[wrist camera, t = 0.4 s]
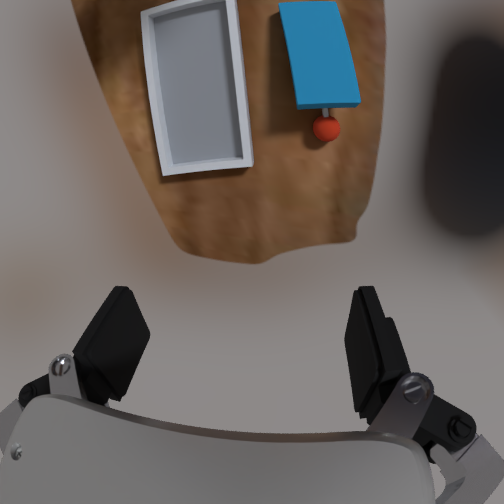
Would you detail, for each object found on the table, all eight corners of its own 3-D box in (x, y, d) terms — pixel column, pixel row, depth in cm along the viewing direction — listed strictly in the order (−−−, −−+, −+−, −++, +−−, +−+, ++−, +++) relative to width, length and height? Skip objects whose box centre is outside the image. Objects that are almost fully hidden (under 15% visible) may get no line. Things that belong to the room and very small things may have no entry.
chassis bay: (148, 15, 24) (140, 11, 22) (235, -5, 22) (233, -11, 20) (169, 170, 36) (162, 175, 34) (254, 162, 35) (252, 166, 33)
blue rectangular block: (281, 28, 28) (300, 144, 33) (278, 3, 21) (302, 137, 26) (329, 26, 27) (351, 141, 32) (335, 1, 20) (366, 135, 25)
